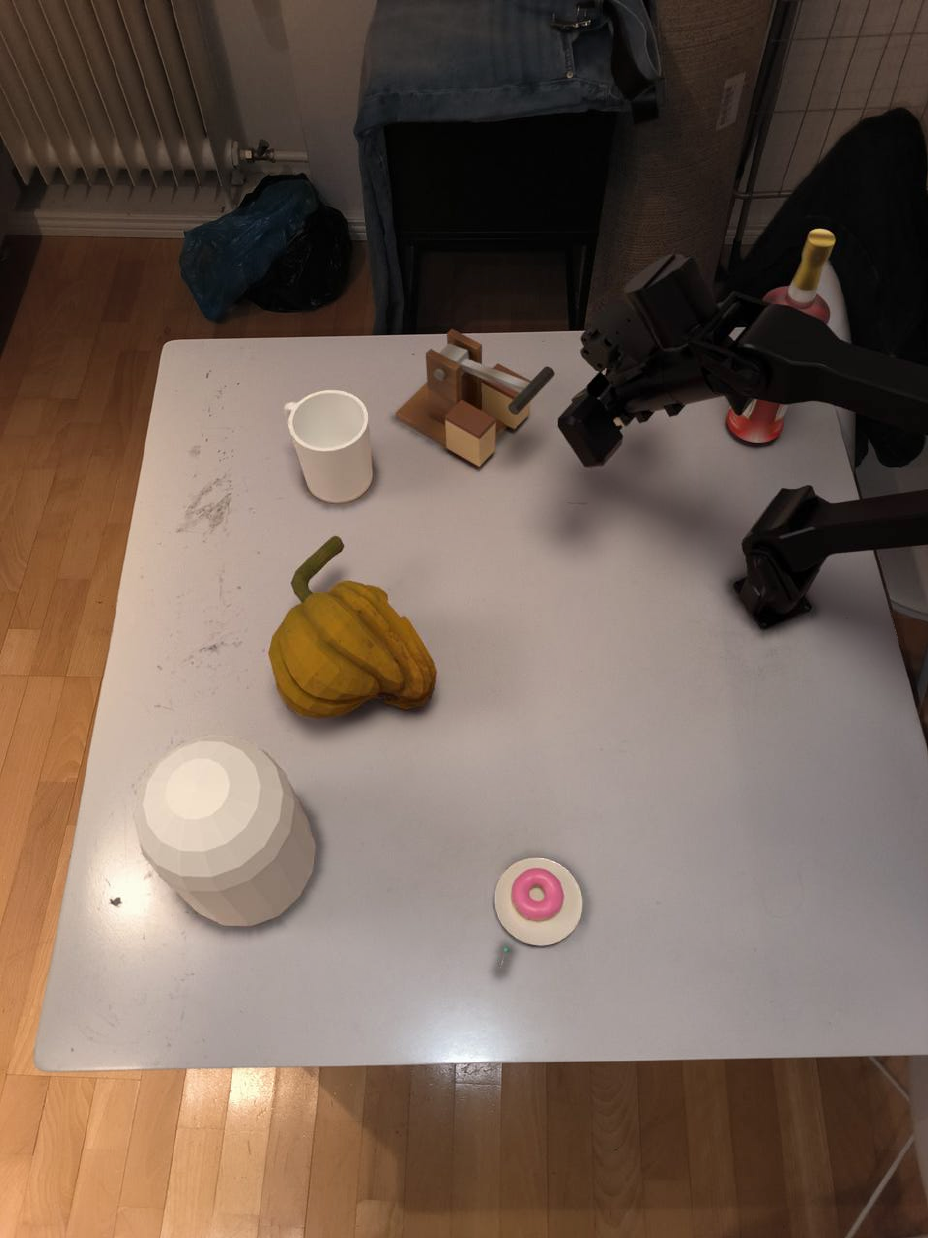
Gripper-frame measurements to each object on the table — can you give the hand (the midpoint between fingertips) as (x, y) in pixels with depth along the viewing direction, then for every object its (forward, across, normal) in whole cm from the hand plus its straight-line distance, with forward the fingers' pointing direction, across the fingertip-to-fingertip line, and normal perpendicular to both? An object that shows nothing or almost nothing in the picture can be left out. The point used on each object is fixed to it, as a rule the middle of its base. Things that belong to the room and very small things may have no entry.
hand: (575, 401), depth 104 cm
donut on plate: (-9, +44, +28) cm, 53 cm away
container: (+9, +56, +10) cm, 58 cm away
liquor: (0, -20, +20) cm, 29 cm away
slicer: (+21, 0, -2) cm, 21 cm away
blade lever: (+11, 0, -5) cm, 12 cm away
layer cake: (+17, 0, +1) cm, 17 cm away
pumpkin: (+13, +35, +7) cm, 38 cm away
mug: (+26, +16, -6) cm, 31 cm away
